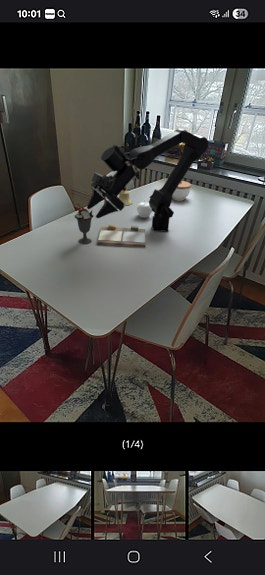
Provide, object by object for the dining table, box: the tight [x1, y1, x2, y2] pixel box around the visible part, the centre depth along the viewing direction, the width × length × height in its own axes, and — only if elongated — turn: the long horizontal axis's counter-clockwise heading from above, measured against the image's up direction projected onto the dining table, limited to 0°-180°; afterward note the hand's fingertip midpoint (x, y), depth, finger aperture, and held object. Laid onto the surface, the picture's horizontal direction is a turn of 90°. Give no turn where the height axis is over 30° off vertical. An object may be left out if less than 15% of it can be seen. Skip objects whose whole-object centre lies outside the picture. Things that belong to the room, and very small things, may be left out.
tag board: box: [96, 224, 146, 248], centre depth 124 cm, size 18×14×2 cm
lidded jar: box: [172, 180, 192, 201], centre depth 163 cm, size 11×11×9 cm
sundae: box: [74, 203, 94, 245], centre depth 116 cm, size 7×7×15 cm
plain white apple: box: [136, 199, 153, 219], centre depth 141 cm, size 7×7×8 cm
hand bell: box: [118, 186, 133, 207], centre depth 152 cm, size 8×8×16 cm
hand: (92, 213), depth 115 cm, fingers open, 9 cm apart
